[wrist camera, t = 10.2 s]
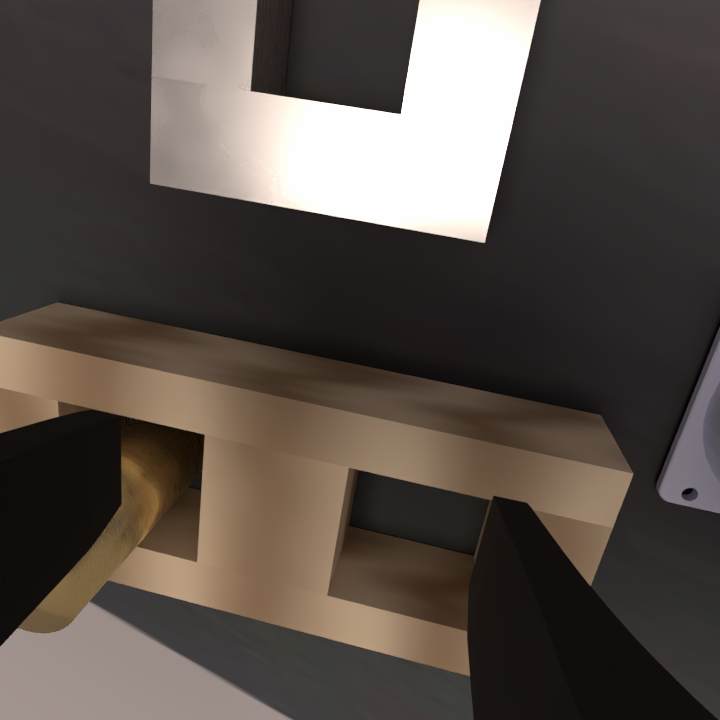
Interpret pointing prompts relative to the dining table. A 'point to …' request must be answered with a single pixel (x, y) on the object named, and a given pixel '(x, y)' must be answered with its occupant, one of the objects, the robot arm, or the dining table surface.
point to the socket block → (339, 115)
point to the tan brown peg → (126, 515)
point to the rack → (314, 473)
